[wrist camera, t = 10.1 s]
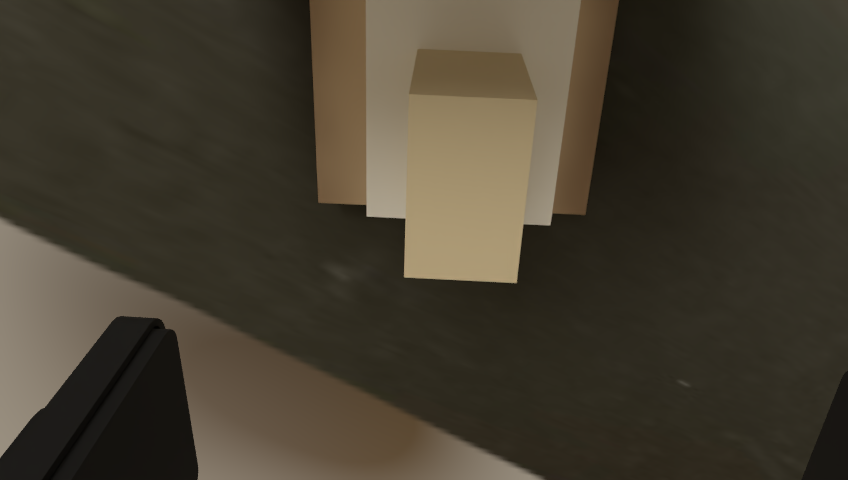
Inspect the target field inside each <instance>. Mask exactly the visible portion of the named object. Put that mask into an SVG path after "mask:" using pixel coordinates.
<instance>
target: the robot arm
mask: <svg viewBox="0 0 848 480" xmlns="http://www.w3.org/2000/svg"><path fill="white" fill-rule="evenodd" d="M197 479H198V463H197V457H196V451H195V446H194V439H193V433H192V427H191V421H190V414H189V409H188V402H187V396H186V390H185V384H184V378H183V372H182V366H181V359H180V353H179V347H178V341H177V336H176V333H175V332H174V331H173V330H171V329H165V326H164V324H163V322H162V320H160V319H158V318H141V317H124V316H120V317H117V318H115V319H114V320H113V321H112V322H111V324H110V325H109V326H108V328H107V329H106V330H105V331H104V333H103V334H102V335H101V336H100V338H99V339H98V340H97V342H96V343H95V344H94V346H93V347H92V348H91V349H90V351H89V352H88V353H87V354H86V356H85V357H84V358H83V360H82V361H81V362H80V364H79V365H78V366H77V367H76V369H75V370H74V371H73V372H72V374H71V375H70V376H69V378H68V379H67V380H66V381H65V383H64V384H63V385H62V386H61V388H60V389H59V390H58V392H57V393H56V394H55V395H54V397H53V398H52V399H51V401H50V402H49V403H48V404H47V406H46V407H45V408H43V409H41V410H40V411H39V412H37V413H36V414H35V415H34V416H33V417H32V419H31V420H30V421H29V422H28V424H27V425H26V426H25V428H24V429H23V430H22V431H21V432H20V434H19V435H18V437H16V439H15V440H14V442H13V443H12V444H11V445H10V446H9V448H8V449H7V450H6V451H5V453H4V454H3V455H2V456H1V458H0V480H197ZM802 480H848V371H847V372H846V373H845V374H844V375H843V377H842V379H841V381H840V384H839V387H838V389H837V392H836V394H835V397H834V399H833V402H832V404H831V407H830V409H829V412H828V414H827V417H826V419H825V422H824V424H823V427H822V430H821V432H820V435H819V437H818V440H817V442H816V445H815V447H814V450H813V452H812V455H811V457H810V460H809V462H808V465H807V467H806V470H805V472H804V475H803V478H802Z"/></svg>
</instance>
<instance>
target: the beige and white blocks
mask: <svg viewBox="0 0 848 480" xmlns="http://www.w3.org/2000/svg"><path fill="white" fill-rule="evenodd" d="M580 4H581V0H366V200H367V217H386V218H406V223H405V261H404V277H406V278H426V279H446V280H465V281H485V282H505V283H517V275H518V267H519V258H520V249H521V241H522V232H523V224H530V225H551V218H552V210H553V203H554V196H555V188H556V181H557V173H558V166H559V159H560V151H561V144H562V137H563V129H564V122H565V115H566V107H567V100H568V92H569V85H570V78H571V70H572V63H573V56H574V48H575V41H576V34H577V26H578V19H579V11H580Z"/></svg>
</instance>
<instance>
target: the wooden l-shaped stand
mask: <svg viewBox="0 0 848 480" xmlns="http://www.w3.org/2000/svg"><path fill="white" fill-rule="evenodd" d="M618 4H619V0H581V4H580V11H579V19H578V26H577V34H576V41H575V48H574V56H573V63H572V70H571V78H570V85H569V92H568V100H567V107H566V115H565V122H564V129H563V137H562V144H561V151H560V159H559V166H558V173H557V181H556V188H555V196H554V203H553V210H552V213H556V214H578V215H585V214H586V208H587V201H588V195H589V188H590V182H591V176H592V169H593V163H594V157H595V150H596V144H597V137H598V131H599V125H600V118H601V112H602V106H603V99H604V93H605V86H606V80H607V74H608V67H609V61H610V55H611V48H612V42H613V36H614V29H615V23H616V16H617V10H618ZM310 22H311V44H312V67H313V90H314V113H315V136H316V159H317V182H318V203H334V204H356V205H367V200H366V0H310Z"/></svg>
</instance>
